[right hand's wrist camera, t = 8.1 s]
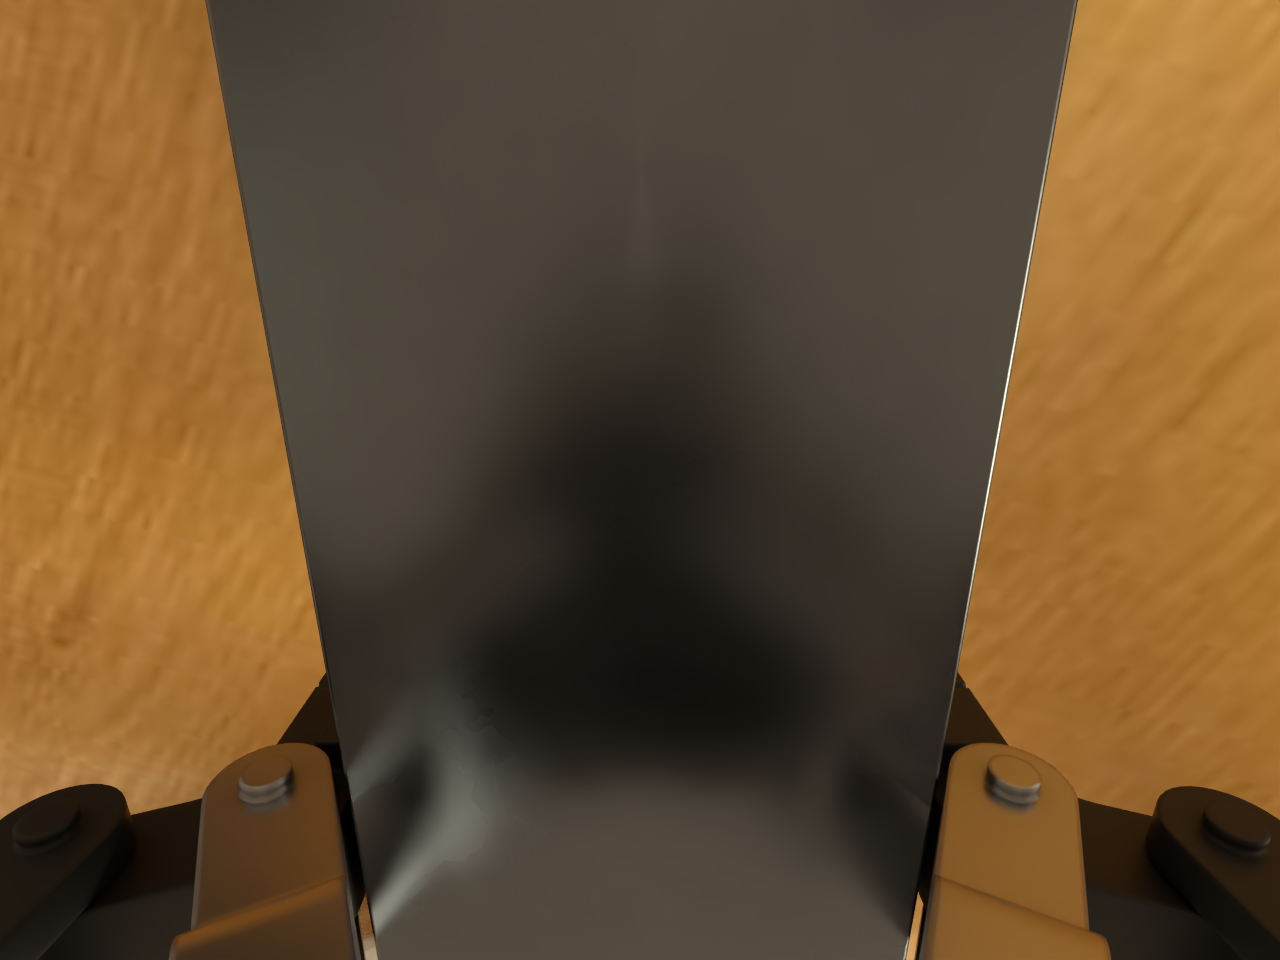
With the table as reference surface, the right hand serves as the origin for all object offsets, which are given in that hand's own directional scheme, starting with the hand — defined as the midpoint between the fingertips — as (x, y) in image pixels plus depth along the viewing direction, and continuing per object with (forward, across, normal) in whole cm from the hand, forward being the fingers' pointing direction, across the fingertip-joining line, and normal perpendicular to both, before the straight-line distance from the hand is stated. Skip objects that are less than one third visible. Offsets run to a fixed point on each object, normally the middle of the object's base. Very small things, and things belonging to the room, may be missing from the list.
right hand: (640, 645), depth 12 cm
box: (+7, 0, -7) cm, 10 cm away
